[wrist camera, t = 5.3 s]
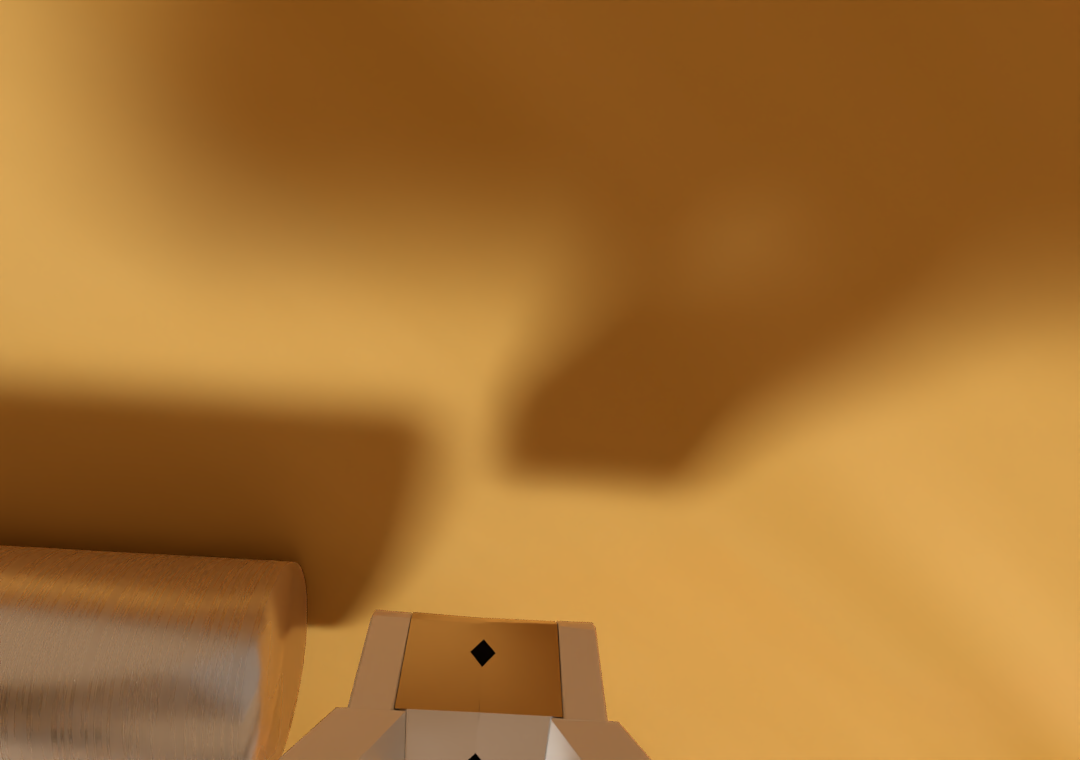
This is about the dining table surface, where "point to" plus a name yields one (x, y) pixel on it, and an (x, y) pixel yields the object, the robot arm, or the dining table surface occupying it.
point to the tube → (147, 655)
